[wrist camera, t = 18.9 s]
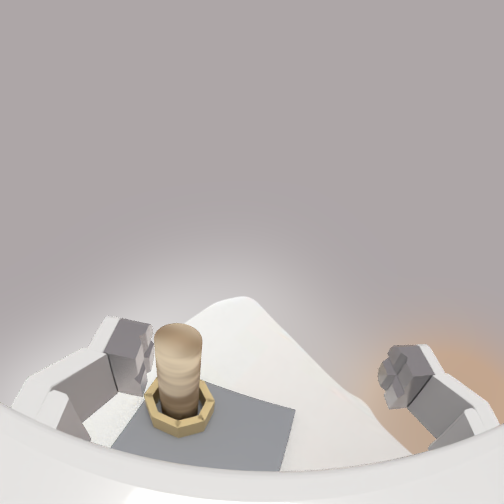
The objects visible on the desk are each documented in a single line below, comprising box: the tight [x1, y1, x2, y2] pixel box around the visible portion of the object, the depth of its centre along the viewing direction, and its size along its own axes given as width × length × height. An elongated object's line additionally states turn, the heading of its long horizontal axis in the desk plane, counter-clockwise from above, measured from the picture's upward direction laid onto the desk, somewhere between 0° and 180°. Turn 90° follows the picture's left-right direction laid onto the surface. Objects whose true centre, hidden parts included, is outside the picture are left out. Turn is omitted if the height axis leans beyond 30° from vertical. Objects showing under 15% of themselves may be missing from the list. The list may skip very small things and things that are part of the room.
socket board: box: [111, 377, 295, 471], centre depth 32 cm, size 17×20×4 cm
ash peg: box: [154, 323, 202, 420], centre depth 32 cm, size 5×5×14 cm
